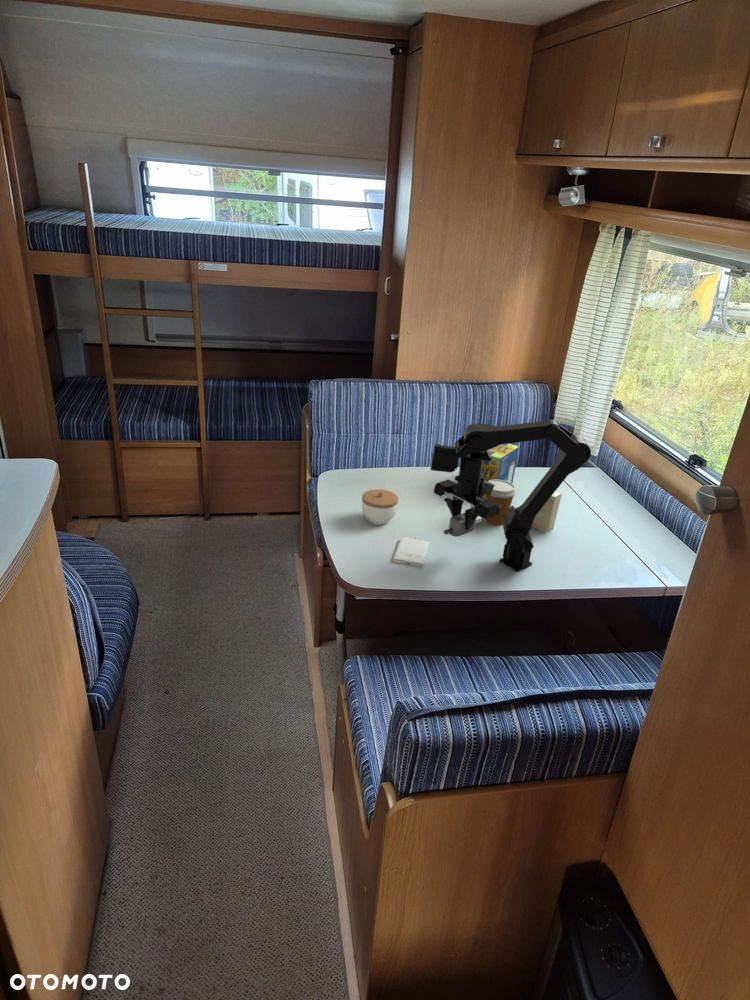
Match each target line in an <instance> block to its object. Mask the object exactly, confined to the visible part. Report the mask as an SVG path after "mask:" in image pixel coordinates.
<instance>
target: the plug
mask: <svg viewBox="0 0 750 1000" xmlns="http://www.w3.org/2000/svg"><path fill="white" fill-rule="evenodd" d="M482 521H483V518H482V517H480V516H478V517H477V518H476V520H475V521H474V523H473V525H472V526H471V528H470V530H468V531H467V530H466V528H465V512H461V514H459V515H457V516H454V517H452V516H451V517H450V519H449V525H448V528H447V529H445V530H443V534H444V535H445V536H446V535H448V534H449V535H450V536H452V537H461V536H463V535H466V534H468V533H472V532H474V531H475V528H476V524H477V523H480V522H482Z"/></svg>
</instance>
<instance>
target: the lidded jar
mask: <svg viewBox="0 0 750 1000" xmlns="http://www.w3.org/2000/svg"><path fill="white" fill-rule="evenodd" d="M361 500H362V501H361V508H362V513H363V515H364V517H365V518H366V519H367V520H369V521H368V522H369V523H370V522H371V523H370V524H372V523H373V525H376V524H377V525H376V526H382V525H381V524H384V525H387V524H388V523H389V522H390V521H391V520H393V518H394V517H395V515H396V512H397V510H398V503H399V496H398V495H397V494H396V493H394V492H392V491H389V490H386V489H378V488H377V489H370V490H367V491H365V492H363V494H362V495H361ZM386 523H387V524H386Z"/></svg>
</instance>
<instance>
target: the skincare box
mask: <svg viewBox="0 0 750 1000" xmlns="http://www.w3.org/2000/svg"><path fill="white" fill-rule="evenodd" d="M562 495H563V493H562V492H559V491H557V490H556V491H555V492H554V493H553V495H552V496H551V497H550V499H549V500H548V501H547V502H546V504H545V505H544V506H543V507H542V509H541V510H540V511H539V512H538V514H537V515H536V516H535V518H534V521H533V524H532V527H531V528H534V529H536V530H539V531H541V532H543V533H545V532H546V533H549V532H551V531H552V529H553V530H554V528H555V524H556V520H557V515H558V512H559V506H560V502H561V499H562Z"/></svg>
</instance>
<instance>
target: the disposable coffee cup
mask: <svg viewBox="0 0 750 1000" xmlns="http://www.w3.org/2000/svg"><path fill="white" fill-rule="evenodd" d="M488 482H490V483H492V484H494V485H495V486H494V488H493V491H492V493H491V496H489V495H487V494H485V499H484V500H487V499H490V500H492V501H494V502H496V503H498V504H499V505H500V507H501V509H500V514H498V515H495V516H493V517H490V518H487V519H484V522H485V523H487V524H489V525H492V526H503V520H504V518H503V515H505V514H506V513H507V512H508V511H509V509H510V507H511V506H512V503H513V500H514V497H515V495H516V494H517V489H516V486H515V484H513V483H510V482H508V481H505V480H496V479H495V480H489V481H488Z"/></svg>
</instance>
